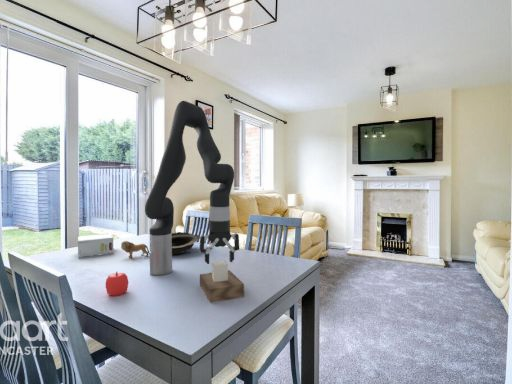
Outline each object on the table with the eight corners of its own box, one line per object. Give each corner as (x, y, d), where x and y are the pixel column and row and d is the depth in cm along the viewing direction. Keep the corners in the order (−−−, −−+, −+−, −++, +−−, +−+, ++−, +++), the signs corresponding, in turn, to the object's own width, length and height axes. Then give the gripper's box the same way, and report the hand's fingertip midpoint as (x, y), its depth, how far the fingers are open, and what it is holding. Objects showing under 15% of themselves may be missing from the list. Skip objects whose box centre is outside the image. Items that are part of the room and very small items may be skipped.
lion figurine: (121, 260, 142) (121, 242, 141) (121, 257, 146) (120, 240, 146) (152, 256, 148) (151, 239, 148) (151, 253, 153) (150, 237, 152)
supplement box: (77, 258, 145) (77, 240, 145) (78, 252, 156) (77, 236, 156) (114, 253, 154) (113, 237, 154) (112, 248, 165) (111, 233, 165)
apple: (110, 300, 95) (110, 277, 95) (101, 294, 100) (100, 272, 100) (133, 292, 101) (133, 271, 101) (123, 287, 106) (122, 266, 106)
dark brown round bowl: (190, 243, 175) (191, 229, 174) (205, 256, 154) (205, 240, 152) (149, 248, 162) (149, 233, 161) (158, 263, 141) (158, 245, 140)
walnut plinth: (210, 304, 93) (210, 289, 93) (199, 287, 107) (199, 274, 107) (243, 297, 98) (243, 283, 97) (229, 282, 112) (229, 270, 112)
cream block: (214, 282, 99) (213, 265, 99) (212, 277, 104) (211, 261, 104) (227, 280, 101) (227, 264, 100) (225, 275, 105) (225, 260, 105)
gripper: (201, 221, 95) (201, 267, 96) (241, 219, 100) (241, 263, 100) (198, 217, 102) (198, 261, 103) (236, 216, 107) (236, 258, 108)
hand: (219, 262), depth 102 cm, fingers open, 8 cm apart
